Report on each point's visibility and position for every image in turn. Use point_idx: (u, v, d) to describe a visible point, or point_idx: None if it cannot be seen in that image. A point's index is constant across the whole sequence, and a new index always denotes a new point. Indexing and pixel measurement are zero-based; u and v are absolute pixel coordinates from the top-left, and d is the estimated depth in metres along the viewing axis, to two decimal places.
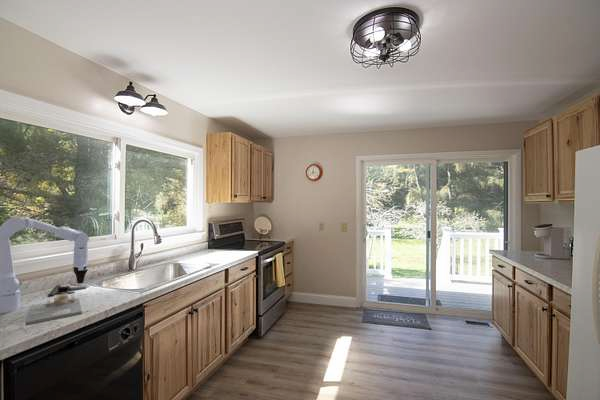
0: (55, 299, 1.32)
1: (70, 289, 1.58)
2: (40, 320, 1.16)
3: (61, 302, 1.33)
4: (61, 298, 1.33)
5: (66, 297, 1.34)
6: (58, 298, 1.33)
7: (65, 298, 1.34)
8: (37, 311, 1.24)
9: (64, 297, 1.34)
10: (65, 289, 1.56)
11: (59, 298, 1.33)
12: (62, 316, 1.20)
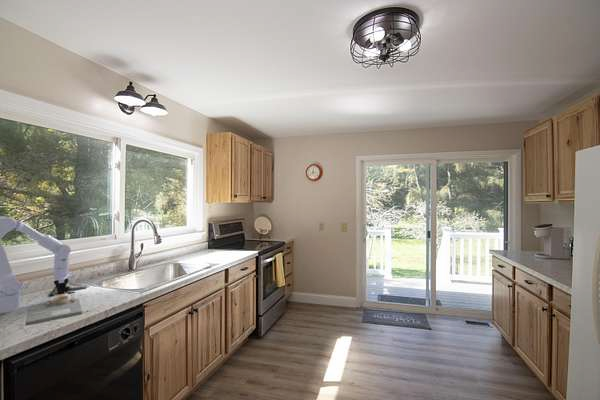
0: (55, 299, 1.32)
1: (70, 289, 1.58)
2: (40, 320, 1.16)
3: (61, 302, 1.33)
4: (61, 298, 1.33)
5: (66, 297, 1.34)
6: (58, 298, 1.33)
7: (65, 298, 1.34)
8: (37, 311, 1.24)
9: (64, 297, 1.34)
10: (65, 289, 1.56)
11: (59, 298, 1.33)
12: (62, 316, 1.20)
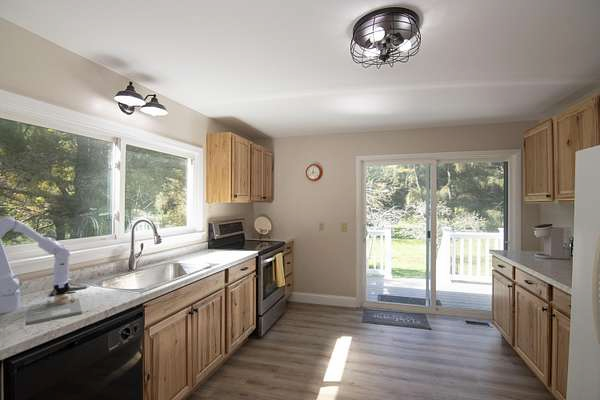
0: (55, 299, 1.31)
1: (70, 289, 1.58)
2: (40, 320, 1.16)
3: (61, 302, 1.33)
4: (61, 298, 1.33)
5: (66, 297, 1.34)
6: (58, 298, 1.32)
7: (65, 298, 1.34)
8: (37, 311, 1.24)
9: (64, 297, 1.34)
10: None
11: (59, 298, 1.32)
12: (62, 316, 1.20)
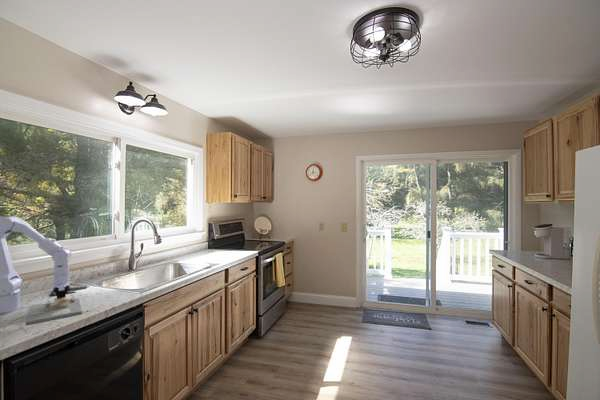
0: (55, 303, 1.27)
1: (70, 289, 1.58)
2: (40, 320, 1.16)
3: (61, 306, 1.29)
4: (61, 301, 1.29)
5: (67, 300, 1.30)
6: (58, 301, 1.28)
7: (66, 301, 1.30)
8: (37, 311, 1.24)
9: (64, 300, 1.29)
10: None
11: (59, 301, 1.28)
12: (62, 316, 1.20)
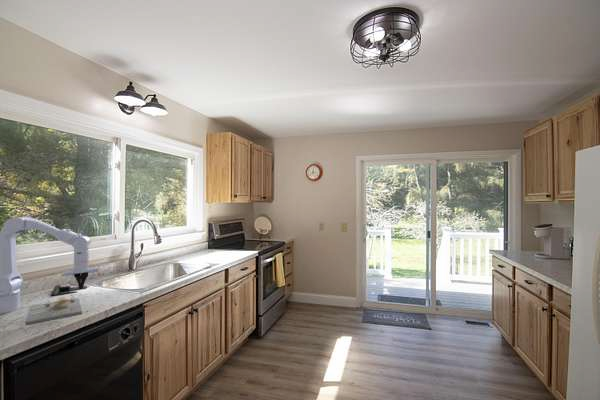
0: (55, 303, 1.27)
1: (71, 289, 1.58)
2: (40, 320, 1.16)
3: (61, 306, 1.28)
4: (61, 302, 1.28)
5: (67, 301, 1.30)
6: (58, 302, 1.28)
7: (66, 302, 1.29)
8: (37, 311, 1.24)
9: (64, 301, 1.29)
10: (66, 289, 1.56)
11: (59, 302, 1.28)
12: (62, 316, 1.20)
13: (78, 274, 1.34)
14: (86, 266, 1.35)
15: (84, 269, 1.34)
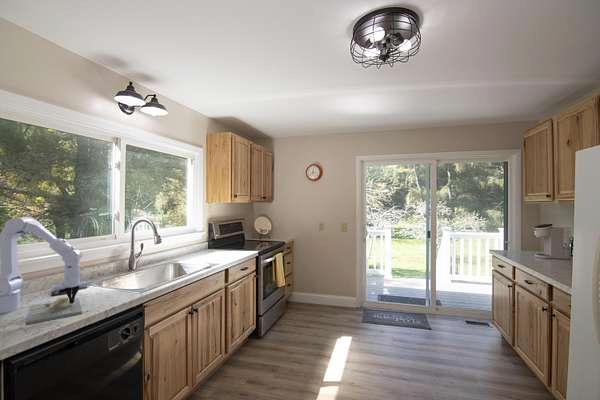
0: (55, 303, 1.27)
1: (71, 289, 1.58)
2: (40, 320, 1.16)
3: (61, 306, 1.28)
4: (61, 302, 1.28)
5: (66, 301, 1.29)
6: (58, 302, 1.28)
7: (65, 302, 1.29)
8: (37, 311, 1.24)
9: (64, 301, 1.29)
10: None
11: (59, 302, 1.28)
12: (62, 316, 1.20)
13: (68, 288, 1.31)
14: (77, 280, 1.32)
15: (74, 283, 1.31)
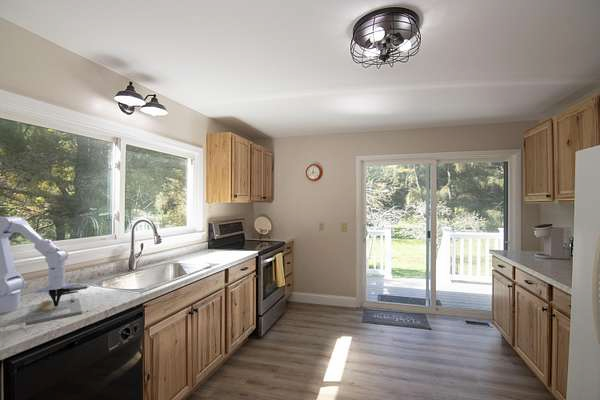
0: (38, 306, 1.23)
1: (71, 289, 1.58)
2: (40, 320, 1.16)
3: (45, 309, 1.24)
4: (45, 305, 1.24)
5: (50, 303, 1.26)
6: (41, 305, 1.24)
7: (49, 305, 1.25)
8: None
9: (48, 303, 1.25)
10: (66, 289, 1.56)
11: (42, 305, 1.24)
12: (62, 316, 1.20)
13: (53, 290, 1.27)
14: (61, 282, 1.28)
15: (59, 285, 1.27)
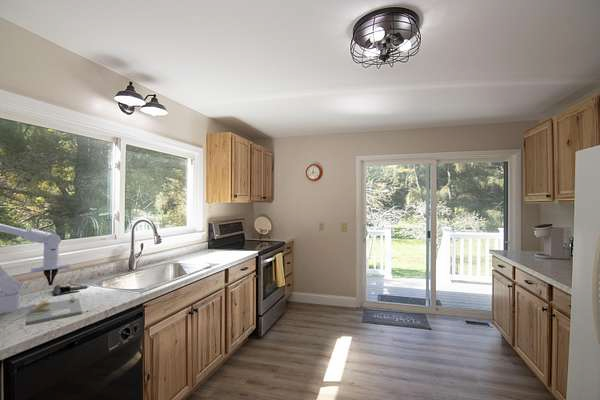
0: (37, 306, 1.23)
1: (71, 289, 1.58)
2: (40, 320, 1.16)
3: (43, 309, 1.24)
4: (43, 305, 1.24)
5: (49, 304, 1.25)
6: (40, 305, 1.23)
7: (48, 305, 1.25)
8: None
9: (47, 304, 1.25)
10: (66, 289, 1.57)
11: (41, 305, 1.24)
12: (62, 316, 1.20)
13: (47, 270, 1.36)
14: (55, 263, 1.37)
15: (53, 266, 1.37)
